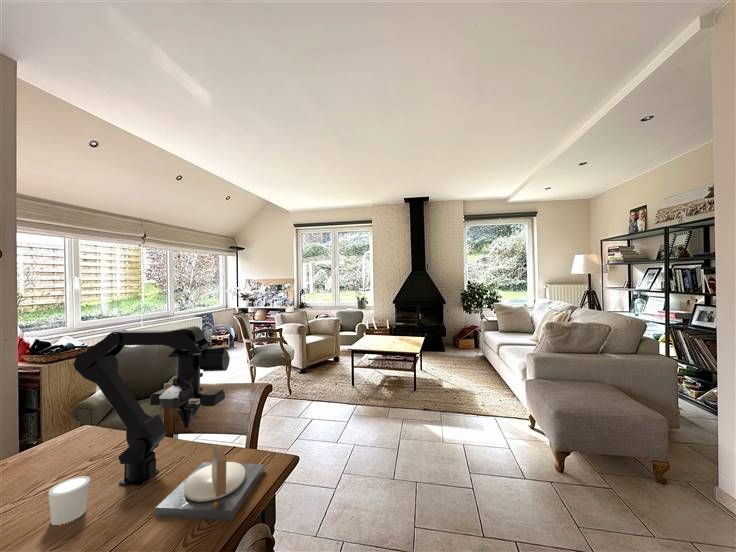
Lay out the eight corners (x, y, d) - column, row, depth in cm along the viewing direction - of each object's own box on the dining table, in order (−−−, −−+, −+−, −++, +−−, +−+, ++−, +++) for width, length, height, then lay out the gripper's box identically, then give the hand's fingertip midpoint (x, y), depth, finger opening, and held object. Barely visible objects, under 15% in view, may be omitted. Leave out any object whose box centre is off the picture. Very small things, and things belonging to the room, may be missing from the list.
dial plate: (155, 516, 68) (155, 507, 68) (203, 469, 86) (203, 461, 86) (231, 520, 67) (231, 510, 67) (263, 471, 85) (264, 463, 85)
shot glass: (62, 530, 64) (63, 497, 65) (38, 525, 66) (39, 492, 66) (96, 507, 71) (98, 477, 71) (74, 503, 72) (75, 473, 73)
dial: (182, 477, 79) (183, 442, 79) (238, 460, 87) (239, 428, 87) (186, 513, 66) (187, 470, 67) (251, 489, 74) (252, 451, 75)
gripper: (133, 380, 77) (131, 441, 77) (202, 381, 76) (201, 443, 75) (165, 368, 88) (164, 422, 88) (226, 369, 87) (225, 423, 86)
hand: (187, 427), depth 84 cm, fingers closed
